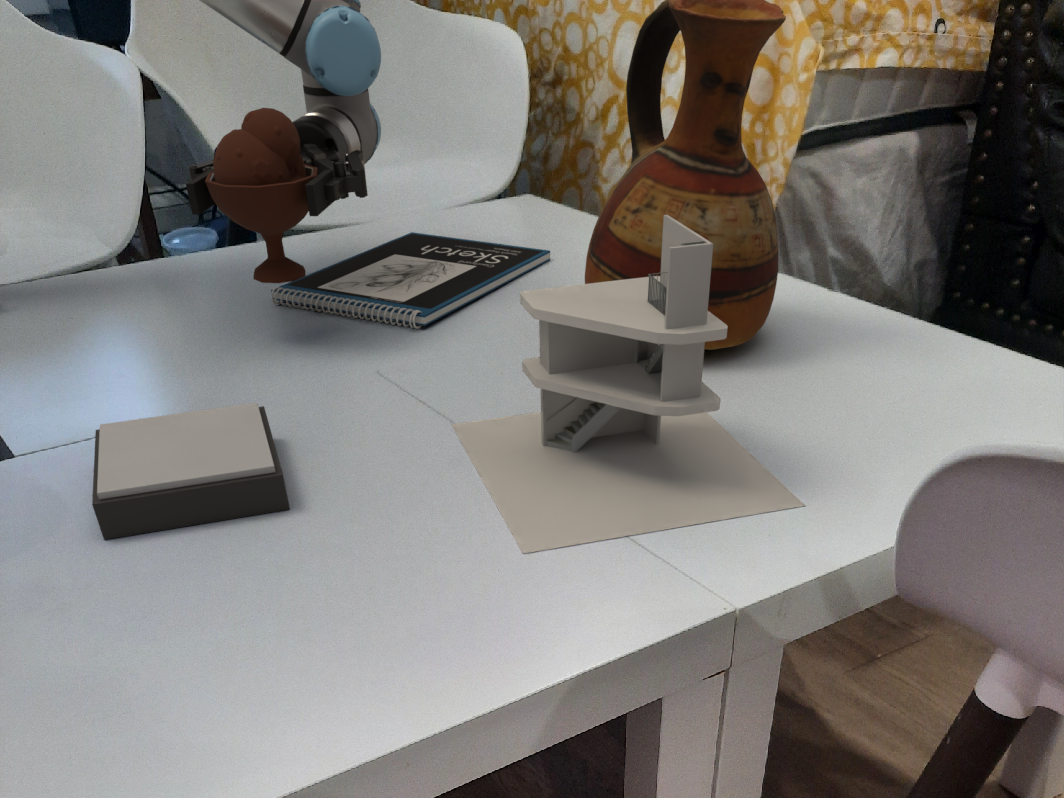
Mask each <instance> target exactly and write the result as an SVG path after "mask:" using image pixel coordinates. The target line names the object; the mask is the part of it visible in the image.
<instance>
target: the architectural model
mask: <svg viewBox="0 0 1064 798" xmlns="http://www.w3.org/2000/svg"><path fill="white" fill-rule="evenodd" d="M712 253H713V243H711V242H710V241H708V240H707V239H705V238H703V237H702V236H700V235H699V234H697V233H695V232H694V231H692V230H691V229H689V228H688V227H686V226H684V225H683V224H681V223H680V222H678V221H676V220H675V219H673V218H672V217H670V216H669V215H664V219H663V237H662V256H661V273H653V274H657V276H651V275H653V274H648V275H649V277H642V278H634V279H625V280H616V281H607V282H598V283H590V284H585V283H582V284H573V285H564V286H555V287H545V288H537V289H528V290H522V291H520V292H519V299H520V300H519V303H520V305H521V307H522V308H523V309H524V310H525V311H526V312H527V313H528V315H529V316H531V318H532V319H534V320H538V329H539V332H538V334H539V356H536V357H528V358H524V359H522V361H521V367H522V370H521V371H522V372H523V374H524V375H525V376H526V377H527V379H528V380H529V381H530V382H531V384H532V385H533V387H534V388H537V389H540V411H536V412H535V411H534V412H528V413H521V414H515V415H514V414H513V415H505V416H499V417H492V418H485V419H479V420H471V421H463V422H458V423H451V427H452V429H453V430H454V432H455V435H456V436H457V438H458V440H459V441H460V443H461V445H462V447H463V449H464V450H465V452H466V453H467V456H468V458H469V459H470V461H471V463H472V464H473V466H474V468H475V470H476V473H477V474H478V475H479V478H480V479H481V481H482V482H483V485H484V486H485V488H486V490H487V492H488V494H489V496H490V497H491V499H492V500H493V502H494V504H495V506H496V508H497V510H498V511H499V514H500V515H501V517H502V519H503V520H504V522H505V524H506V526H507V528H508V529H509V531H510V533H511V535H512V536H513V538H514V540H515V542H516V543H517V546H518V547H519V550H520V551H521V553H522V554H527V553H528V554H529V553H535V552H540V551H547V550H552V549H559V548H563V547H564V548H565V547H569V546H576V545H582V544H588V543H593V542H599V541H605V540H611V539H617V538H622V537H628V536H634V535H640V534H647V533H651V532H659V531H664V530H669V529H677V528H681V527H687V526H693V525H699V524H705V523H711V522H717V521H724V520H730V519H734V518H740V517H741V518H742V517H746V516H754V515H759V514H765V513H771V512H776V511H782V510H789V509H794V508H799V507H806V504H805V503H804V502H803V501H802V500H801V499H799V497H797V495H795V494H794V493H793V492H792V491H791V490H790V489H789V488H788V487H787V486H786V485H785V484H784V483H782V482H781V481H780V480H779V479H778V478H777V477H776V476H775V475H774V474H773V473H772V472H771V471H770V470H769V469H767V467H765V466H764V465H763V464H762V462H760V461H759V460H758V459H757V457H755V456H754V455H753V454H752V453H751V452H750V451H748V449H747V448H745V447H744V445H742V444H741V443H740V442H739V441H738V440H737V439H736V438H735V437H734V436H733V435H732V434H730V433H729V431H727V430H726V429H725V427H723V426H722V425H721V424H720V423H719V422H718V421H717V420H716V419H715V418H714V417H713V416H712V415H710V414H709V413H711V412H717V411H719V410H720V408H721V400H722V399H721V397H720V396H719V395H718V394H717V393H716V392H715V391H713V390H712V389H711V388H710V387H709V386H707V385H706V384H705V383H704V382H703V381H702V380H703V371H704V357H705V349H704V347H705V342H708V341H715V340H723V339H726V338H727V328H728V326H727V325H726V324H725V323H724V322H722V321H721V320H720V319H718V318H717V317H716V316H714V315H713V314H712V313H710V312H709V311H708V300H709V288H710V276H711V265H712ZM658 274H660V276H658ZM665 309H666V310H665Z"/></svg>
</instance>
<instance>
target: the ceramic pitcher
mask: <svg viewBox="0 0 1064 798" xmlns="http://www.w3.org/2000/svg"><path fill="white" fill-rule="evenodd" d="M786 20H787V16H786V15H785V14H784V10H783V9H782V8H781V7H780V6H779V5H778V4H776V3H773V2H769V1H767V0H663V1H662V2H661V3H660V4H659V5H658V6H657V7H656V8H655V9H654V10H653V11H652V12H651V13H650V14H649V15H648V16H647V17H646V18H645V20H644V21H643V23H642V25H641V26H640V29H639V30H638V33H637V37H636V39H635V43H634V47H633V50H632V54H631V57H630V58H631V59H630V62H629V67H628V71H627V75H626V86H625V91H626V92H625V93H626V94H625V95H626V113H627V120H628V127H629V136H630V143H631V161H630V164H629V167H628V168H627V169H626V171H625V172H624V173H623V175H621V177H620V178H619V180H618V181H617V183H616V185H615V186H614V188H613V190H612V191H611V193H610V194H609V196H608V198H607V199H606V201H605V203H604V205H603V208H602V209H601V211H600V213H599V215H598V217H597V220H596V222H595V225H594V227H593V231H592V233H591V237H590V240H589V243H588V248H587V252H586V257H585V258H586V259H585V268H584V269H585V270H584V284H590V283H598V282H607V281H616V280H625V279H634V278H642V277H649V275H648V274H653V273H661V256H662V237H663V219H664V215H669V216H670V217H672V218H673V219H675V220H676V221H678V222H680V223H681V224H683V225H684V226H686V227H688V228H689V229H691V230H692V231H694V232H695V233H697V234H699V235H700V236H702V237H703V238H705V239H707V240H708V241H710V242H711V243H713V253H712V265H711V276H710V288H709V300H708V311H709V312H710V313H712V314H713V315H714V316H716V317H717V318H718V319H720V320H721V321H722V322H724V323H725V324H726V325H727V326H728V328H727V338H726V339H723V340H715V341H708V342H705V347H704V350H707V351H708V350H709V351H713V350H717V349H718V350H719V349H724V348H725V349H726V348H732V347H737V346H740V345H742V344H744V343H747V342H748V341H750V340H752V339H753V338H754V337H755V336H756V335H757V334H758V333H759V331H760V330H761V328H762V327H763V326H764V325H765V323H766V321H767V319H768V316H769V315H770V311H771V308H772V306H773V302H774V299H775V293H776V288H777V284H778V275H779V237H778V228H777V227H778V226H777V217H776V213H775V207H774V203H773V200H772V199H773V198H772V197H771V194H770V192H769V189H768V187H767V185H766V183H765V180H764V179H763V177H762V176H761V173H760V172H759V171H758V169H757V168H756V167H755V166H754V165H753V163H752V162H751V161H750V160H749V159H748V158H747V156H746V153H745V151H744V149H743V148H744V147H743V143H742V142H743V141H742V124H743V113H744V108H745V107H744V106H745V101H746V98H747V95H748V92H749V89H750V85H751V81H752V77H753V72H754V69H755V66H756V63H757V60H758V58H759V56H760V53H761V51H762V49H764V47H765V45H766V44H767V42H768V41H769V40H770V38H771V37H772V36H773V35H775V33H776V32H777V31H778V30H779V29H780V28H781V26H783V24H784V23H785V21H786ZM679 33H681V37H682V41H683V46H684V59H685V70H684V79H683V80H684V81H683V87H682V92H681V98H680V102H679V107H678V110H677V113H676V115H675V119H674V121H673V125H672V127H671V129H670V131H669V133H668V134H667V137H666V138H665V135H664V129H663V128H664V127H663V120H662V119H663V118H662V108H661V104H662V103H661V99H662V98H661V95H662V87H663V86H662V85H663V74H664V69H665V67H666V63H667V59H668V56H669V53H670V51H671V49H672V46H673V45H674V42H675V39H676V37H677V36H678V34H679ZM651 276H657V274H653V275H651ZM658 276H660V274H658ZM665 310H666V309H665Z"/></svg>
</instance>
